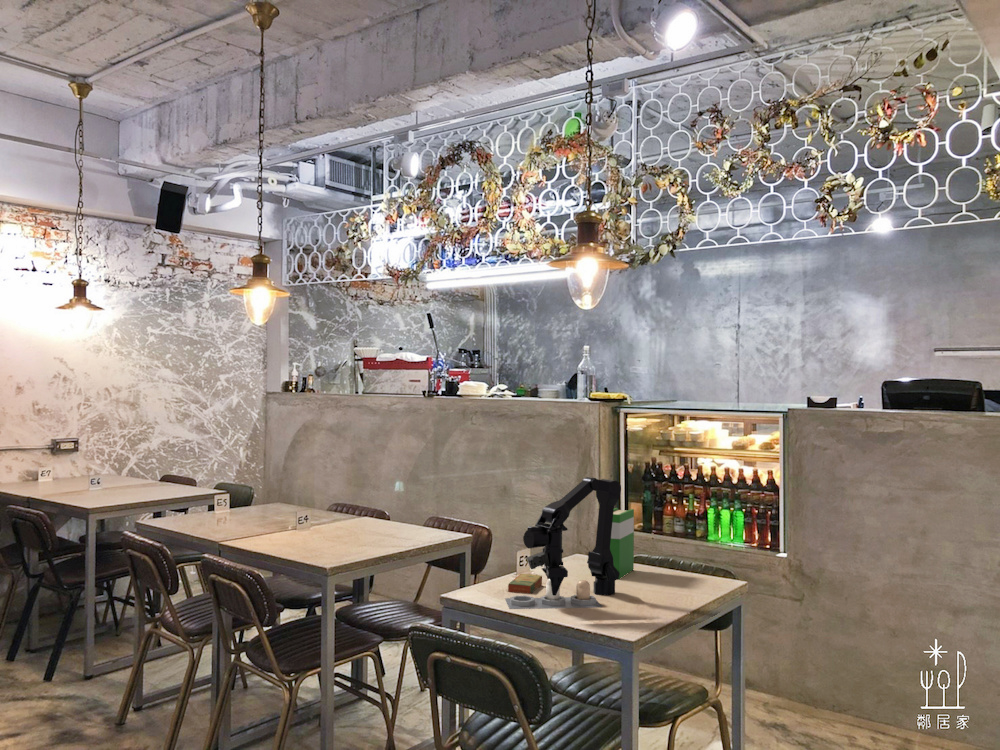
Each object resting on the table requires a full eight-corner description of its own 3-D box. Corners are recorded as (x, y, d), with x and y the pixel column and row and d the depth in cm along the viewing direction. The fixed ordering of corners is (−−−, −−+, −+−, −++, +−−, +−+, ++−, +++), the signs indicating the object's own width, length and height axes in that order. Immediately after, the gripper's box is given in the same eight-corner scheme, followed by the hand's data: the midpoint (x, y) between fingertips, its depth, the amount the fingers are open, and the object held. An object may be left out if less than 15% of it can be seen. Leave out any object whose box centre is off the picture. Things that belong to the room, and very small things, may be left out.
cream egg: (558, 597, 256) (558, 575, 256) (560, 601, 251) (560, 578, 252) (545, 597, 255) (545, 575, 256) (547, 601, 251) (547, 579, 251)
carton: (542, 586, 280) (542, 574, 280) (530, 597, 265) (531, 585, 265) (520, 584, 282) (520, 573, 283) (507, 595, 267) (507, 583, 267)
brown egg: (588, 600, 257) (588, 578, 257) (591, 603, 252) (591, 581, 253) (575, 600, 256) (575, 578, 257) (577, 604, 252) (578, 581, 252)
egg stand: (593, 599, 261) (593, 592, 261) (602, 610, 248) (602, 602, 248) (504, 601, 258) (504, 593, 258) (509, 612, 245) (509, 604, 245)
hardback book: (615, 568, 310) (615, 507, 311) (633, 570, 307) (633, 509, 307) (600, 577, 294) (600, 513, 295) (619, 579, 291) (619, 515, 292)
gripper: (524, 540, 262) (524, 586, 262) (533, 551, 244) (532, 601, 243) (557, 539, 263) (557, 586, 263) (568, 550, 245) (567, 600, 244)
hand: (552, 593), depth 253 cm, fingers closed on cream egg, 4 cm apart
